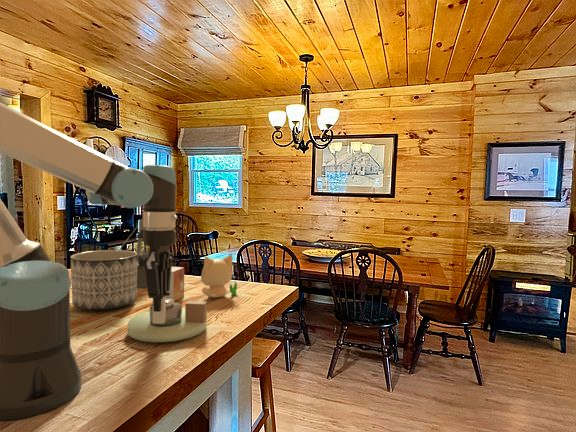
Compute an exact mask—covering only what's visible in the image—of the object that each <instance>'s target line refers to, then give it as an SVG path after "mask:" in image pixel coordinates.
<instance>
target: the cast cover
mask: <svg viewBox="0 0 576 432" xmlns="http://www.w3.org/2000/svg"><path fill="white" fill-rule="evenodd" d="M182 308H183V304H182V303H179V302H176V301H174V300H173V299H166V322H165V323H164V324H154V323H153V304H152V305H151V306H149V311H150V324H151V325H152V326H155V327H169V326H174V325H177V324H179V323H181V321H182Z"/></svg>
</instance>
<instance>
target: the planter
mask: <svg viewBox="0 0 576 432" xmlns="http://www.w3.org/2000/svg"><path fill="white" fill-rule="evenodd" d="M137 264H138V253H136V251H132V250H127V249H126V250H125V249H124V250H123V249H121V250H120V249H105V250H104V249H103V250H89V251H83V252H78V253H73V254H72V255H70V274H71V275H70V280H71V300H72V301H71V302H72V305H73V307H75V308H78V309H81V310H82V309H83V310H92V311H107V310H108V311H109V310H114V309H117V308H120V307H123V306H126V305H130V304H131V303H133V302H134V301H136V299H137V294H138V292H137V291H138V288H137Z"/></svg>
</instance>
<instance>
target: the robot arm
mask: <svg viewBox="0 0 576 432" xmlns="http://www.w3.org/2000/svg"><path fill="white" fill-rule="evenodd" d="M0 153H1V154H4V155H5V156H8V157H11V158H13V159H15V160H17V161H19V162H21V163H23V164H25V165H28V166H31V167H33V168H35V169H37V170H40V171H42V172H45V173H47V174H49V175H51V176H54V177H55V178H59V179H60V180H63V181H65V182H67V183H69V184H72V185H74V186H77V187H79V188H80V189H83V190H85V191H86V198H87V201H88V202H89V203H90V204H91V205H100V206H106V205H111V206H112V205H113V206H114V205H115V206H120V207H124V208H125V209H135V208H140V207H142V206H143V207H142V208H143V209H142V211H143V212H142V214H143V227H144V228H146V230H144V231H143V239H142V244H143V246H145V245H146V246H147V247H149V249H148V251H149V260H148V261H144V267H145V271H146V279H147V288H146V289H147V295H148V296H147V297H148V299H152V305H153V323H154V324H164V323H165V322H166V296H169V295H170V293H167V291H169V289H170V279H171V268H172V267H173V266H172V265H173V259H174V256H175V255H174V252H171V251H170V250H171V249H170V246H174V245H175V244H176V230H175V227H176V220H177V219H178V216H177V215H176V201H177V199H176V197H177V196H176V195H177V193H176V192H177V178H176V177H177V176H176V170H175V168H174V167H173V166H170V165H169V166H168V165H159V164H157V165H156V164H149V165H148V164H147V165H144V166H143V169H142V170H140V169H138V168H133V167H128V166H127V165H125V164H123V163H120V162H119V161H116V160H115V159H113V158H111V157H109V156H107V155H105V154H103V153H101V152H99V151H97V150H96V149H93V148H91V147H89V146H88V145H85V144H83V143H81V142H79V141H77V140H75V139H73V138H71V137H70V136H67V135H66V134H64V133H62V132H60V131H59V130H58V131H57V130H56V129H54V128H52V127H50V126H48V125H46V124H44V123H42V122H40V121H38V120H37V119H34V118H33V117H30V116H28V115H26V114H24V113H23V112H20V111H18V110H16V109H14V108H12V107H10V106H8V105H6V104H4V103H2V102H0ZM146 246H145V247H146ZM71 288H72V282H71V276H70V272H69V269H68V268H67V267H66V266H65V265H64V264H62V263H61V262H60V263H59V262H53V261H52V260H51V258H50V257H49V255H48V254H47V252H46V250H45V249H44V248H43V246H42V244H41V243H40V242H38V241H34V240H30V239H27V237H26V236H25V234H24V232H23V231H22V229H21V228H20V226H19V225H18V223H17V222H16V220H15V219H14V217H13V216H12V214H11V213H10V211H9V210H8V208H7V206H6V205H5V203H4V202H3V201H2V199H1V198H0V421H13V420H19V419H21V420H22V419H24V418H30V417H34V416H37V415H41V414H43V413H46V412H49V411H51V410H54V409H56V408H57V409H58V407H60V406H62V405H64V404H66V403H67V402H70V401H71V400H72V399H73V398H75V396H76V395H77V394H79V392H80V390H81V389H82V373H81V369H80V368H79V366H78V362H77V361H76V358H75V354H74V352H73V350H72V348H71V303H70V302H71V301H70V300H71V296H70V295H71V293H70V289H71Z"/></svg>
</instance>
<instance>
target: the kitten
mask: <svg viewBox="0 0 576 432" xmlns="http://www.w3.org/2000/svg"><path fill="white" fill-rule="evenodd" d="M233 258H234V257H233V255H232V254H229V255H227V256H225V257H224V258H222V259H221V258H213V259H212V258H210V257H209V256H205V257H204V259H203V260H204V261H203V268H202V269H201V270H202V271H201V275H200V280H201V283H202V284H203V285H204V286H205V287H203V288H202V289H201V292H202V293H203V295H205V296H207V297H209V298H215V299H216V298H222V297H225V296H226V294H227V289H226V287H225V285H227V284H229V283H230V284H229V292H230V293H231V294H230V295H231V296H236V295H237V288H238V284H237V281H234V285H232V283H231V280H232V277H233V271H232V269H233ZM206 286H207V287H206Z"/></svg>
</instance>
